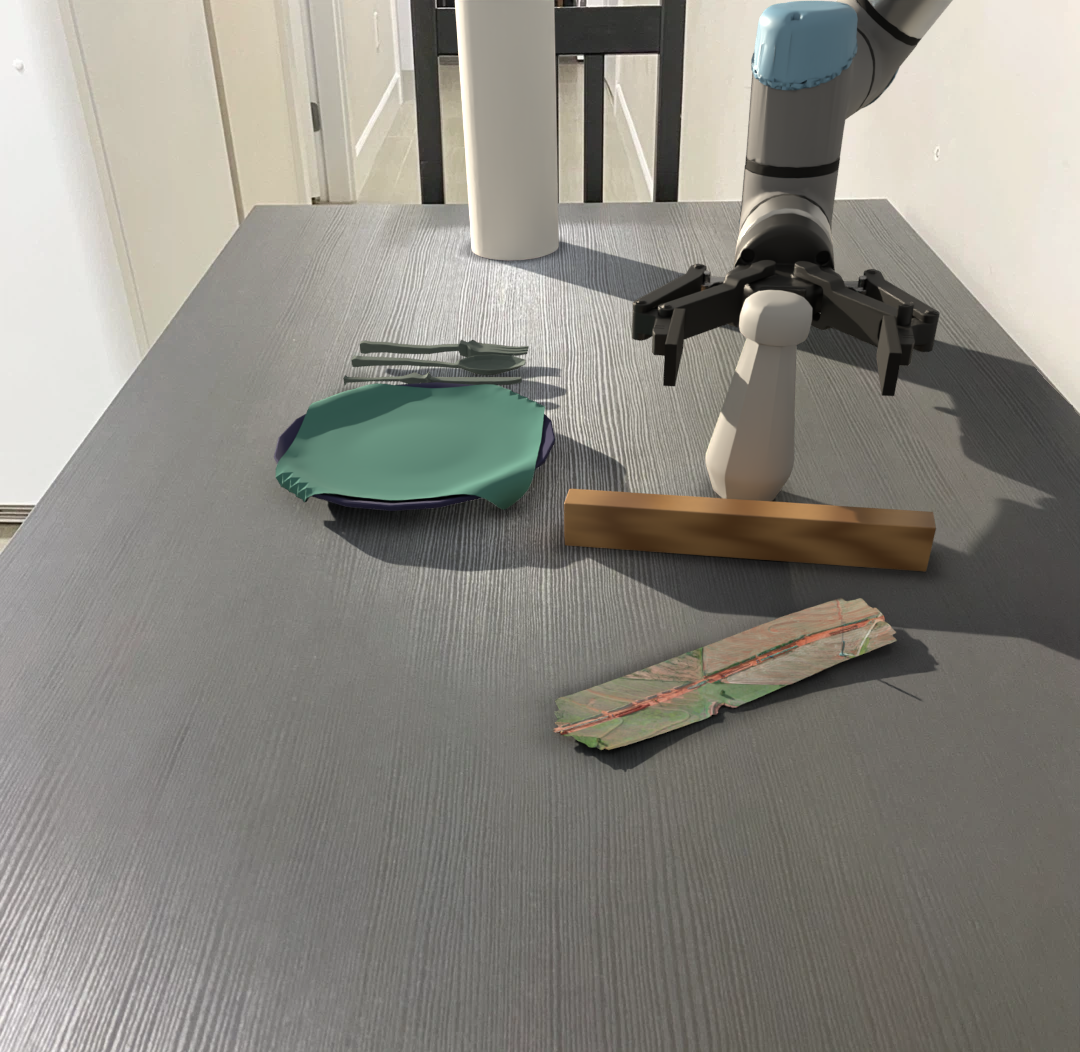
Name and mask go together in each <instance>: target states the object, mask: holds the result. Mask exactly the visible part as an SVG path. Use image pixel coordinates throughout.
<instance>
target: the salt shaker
mask: <svg viewBox="0 0 1080 1052" xmlns="http://www.w3.org/2000/svg"><path fill="white" fill-rule="evenodd" d="M811 322H812V307H811V305H810V304H809V302H808V301H807V300H806V299H805V298H804V297H802V296H800V295H797V294H795V293H791V292H786V291H780V290H765V291H758V292H756V293H754V294H752V295H750V296H749V297H748V298H746V300H745V302H744V305H743V308H742V310H741V313H740V320H739V327H738V328H739V332H740V333H741V334H742V335H743V337H744V338H746V339H745V341H744V343H743V347H742V350H741V353H740V356H739V358H738V361H737V363H736V367H735V370H734V373H733V375H732V379H731V381H730V383H729V387H728V389H727V391H726V395H725V398H724V401H723V404H722V407H721V409H720V412H719V415H718V418H717V421H716V424H715V426H714V429H713V432H712V434H711V438H710V441H709V443H708V447H707V449H706V453H705V467H706V470H707V474H708V477H709V480H710V484H711V488H712V490H713V491H714V492H715V493H716V494H717V495H718V496H719V498H725V499H741V500H756V501H772V502H773V501H774V500H775V499H776V497H777V496H778V494H779V493H780V492H781V490H782V489H783V487H784V486H785V484H786V483H787V482H788V480H789V478H790V477H791V475H792V472H793V469H794V463H795V427H796V426H795V425H796V424H795V421H796V420H795V419H796V418H795V417H796V415H795V412H796V378H797V377H796V376H797V351H798V350H797V348H798V346H797V345H799V344H802V343H803V342H805V341H807V338H808V336H809V334H810V331H811V327H812V326H811Z"/></svg>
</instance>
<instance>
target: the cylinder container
mask: <svg viewBox="0 0 1080 1052" xmlns="http://www.w3.org/2000/svg"><path fill="white" fill-rule="evenodd" d="M454 7H455V8H454V9H455V22H456V23H455V24H456V36H457V39H456V40H457V51H458V52H457V54H458V67H459V83H460V96H461V111H462V125H463V138H464V141H463V142H464V154H465V168H466V169H465V170H466V171H465V172H466V183H467V184H466V185H467V186H466V187H467V199H468V200H467V202H468V214H469V228H470V246H471V251H472V253H473V254H475V255H476V256H479V257H480V258H485V259H488V260H489V259H490V260H495V261H524V260H533V259H537V258H542V257H545V256H549V255H551V254H553V253H555V252H556V251H558V249H559V247H560V246H559V245H560V234H559V233H560V232H559V231H560V228H559V185H558V183H559V181H558V177H559V176H558V131H557V130H558V127H557V124H558V123H557V75H556V74H557V73H556V72H557V71H556V69H557V68H556V22H555V18H556V17H555V0H454Z"/></svg>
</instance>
